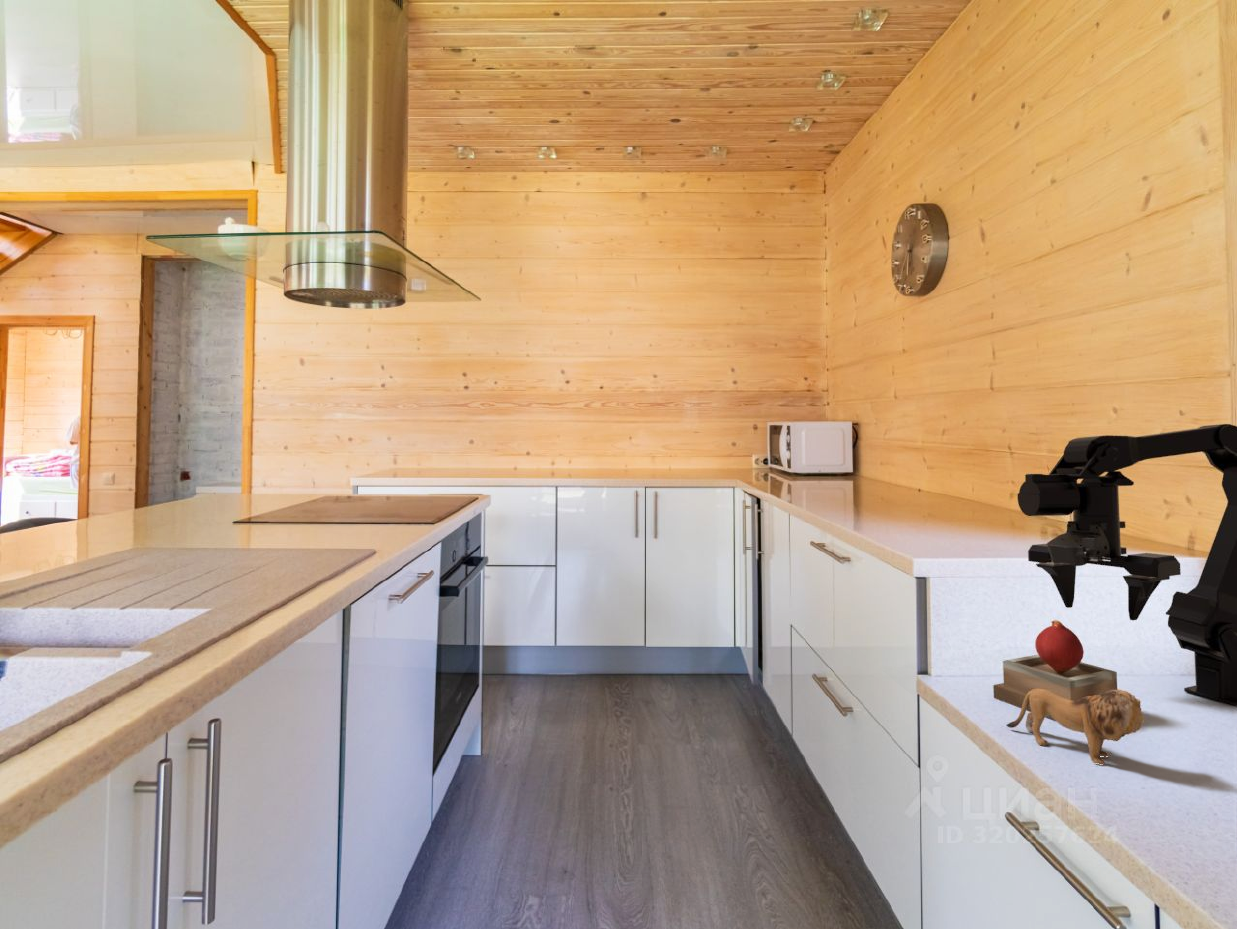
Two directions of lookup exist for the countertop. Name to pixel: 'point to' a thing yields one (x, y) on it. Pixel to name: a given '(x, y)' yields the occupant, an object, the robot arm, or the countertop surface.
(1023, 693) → the wooden tray on base
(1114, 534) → the robot arm
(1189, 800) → the countertop surface
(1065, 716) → the lion figurine
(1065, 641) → the onion
